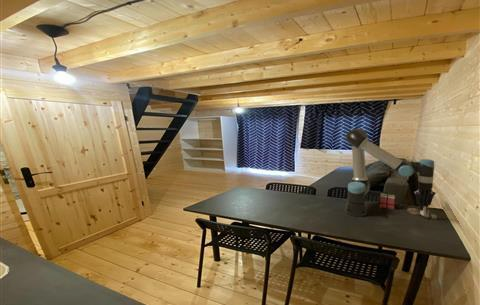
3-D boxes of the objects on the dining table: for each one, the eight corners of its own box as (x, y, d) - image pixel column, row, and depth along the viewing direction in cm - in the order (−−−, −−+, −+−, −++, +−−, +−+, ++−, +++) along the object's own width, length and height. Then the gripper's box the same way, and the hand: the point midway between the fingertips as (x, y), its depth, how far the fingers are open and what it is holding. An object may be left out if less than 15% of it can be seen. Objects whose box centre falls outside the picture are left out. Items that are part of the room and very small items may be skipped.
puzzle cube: (394, 211, 162) (395, 199, 161) (379, 208, 168) (379, 196, 167) (394, 206, 170) (395, 195, 169) (379, 204, 176) (380, 193, 175)
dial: (404, 211, 158) (404, 203, 157) (414, 209, 159) (415, 202, 159) (422, 219, 145) (423, 210, 144) (433, 217, 146) (434, 209, 145)
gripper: (419, 183, 139) (417, 217, 142) (440, 183, 138) (437, 216, 141) (411, 180, 147) (409, 212, 150) (430, 180, 146) (428, 212, 149)
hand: (422, 214), depth 146 cm, fingers closed
